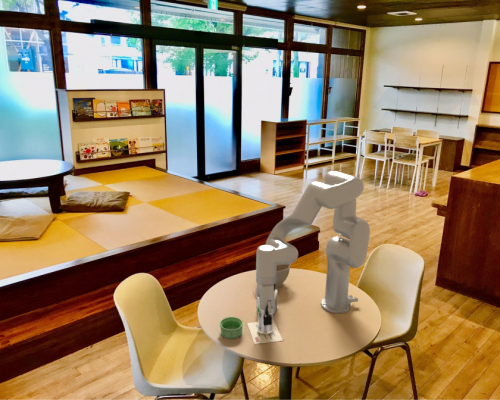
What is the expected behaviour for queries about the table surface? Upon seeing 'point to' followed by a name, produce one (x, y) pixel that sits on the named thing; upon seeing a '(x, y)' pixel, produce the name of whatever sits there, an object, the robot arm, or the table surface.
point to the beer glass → (260, 314)
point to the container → (275, 298)
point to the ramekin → (231, 327)
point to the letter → (264, 338)
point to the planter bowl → (281, 274)
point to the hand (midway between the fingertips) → (265, 319)
